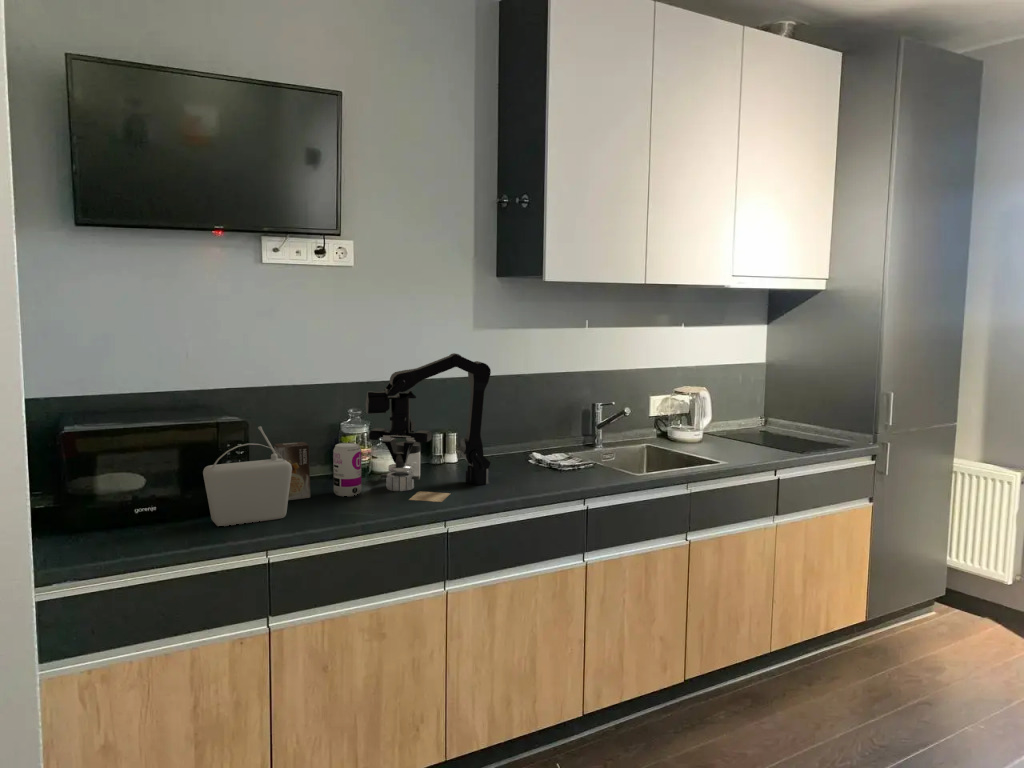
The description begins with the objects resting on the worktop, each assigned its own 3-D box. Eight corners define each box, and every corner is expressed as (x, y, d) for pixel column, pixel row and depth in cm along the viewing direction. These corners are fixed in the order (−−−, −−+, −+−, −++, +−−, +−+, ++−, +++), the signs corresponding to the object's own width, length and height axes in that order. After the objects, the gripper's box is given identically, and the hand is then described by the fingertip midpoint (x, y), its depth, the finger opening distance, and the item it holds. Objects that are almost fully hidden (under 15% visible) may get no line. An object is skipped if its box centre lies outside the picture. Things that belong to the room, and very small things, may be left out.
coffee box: (305, 493, 240) (305, 441, 238) (310, 498, 234) (310, 445, 232) (274, 496, 235) (273, 443, 233) (279, 501, 230) (278, 447, 228)
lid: (414, 467, 247) (414, 451, 247) (407, 473, 240) (407, 456, 240) (392, 466, 249) (392, 450, 248) (385, 471, 242) (385, 455, 241)
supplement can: (366, 491, 242) (366, 443, 241) (352, 498, 235) (352, 448, 233) (343, 489, 245) (342, 441, 243) (328, 495, 237) (328, 446, 236)
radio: (284, 510, 221) (283, 422, 218) (293, 517, 214) (292, 426, 211) (202, 521, 209) (199, 428, 206) (209, 529, 202) (206, 433, 199)
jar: (400, 483, 253) (400, 446, 252) (390, 478, 260) (390, 442, 259) (425, 480, 258) (425, 444, 257) (414, 475, 265) (414, 440, 264)
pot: (422, 488, 248) (422, 472, 248) (414, 494, 240) (414, 478, 239) (385, 485, 250) (385, 470, 250) (376, 492, 242) (376, 476, 242)
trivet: (450, 495, 239) (450, 493, 239) (441, 504, 230) (441, 501, 229) (418, 493, 241) (418, 491, 241) (408, 502, 231) (408, 499, 231)
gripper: (436, 410, 249) (436, 459, 250) (380, 407, 252) (380, 455, 254) (426, 415, 238) (426, 466, 240) (367, 413, 241) (368, 463, 243)
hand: (400, 462), depth 244 cm, fingers closed on lid, 3 cm apart
